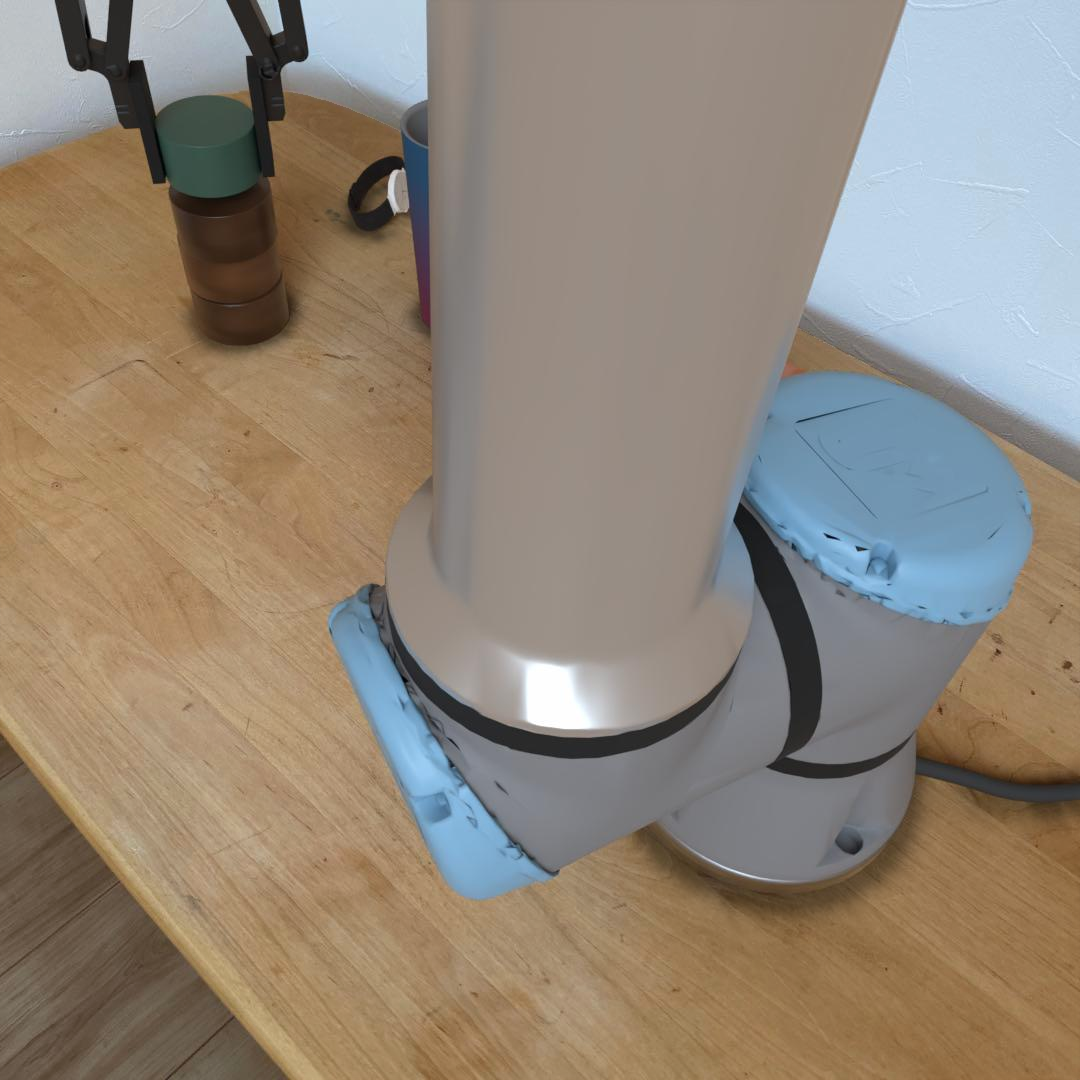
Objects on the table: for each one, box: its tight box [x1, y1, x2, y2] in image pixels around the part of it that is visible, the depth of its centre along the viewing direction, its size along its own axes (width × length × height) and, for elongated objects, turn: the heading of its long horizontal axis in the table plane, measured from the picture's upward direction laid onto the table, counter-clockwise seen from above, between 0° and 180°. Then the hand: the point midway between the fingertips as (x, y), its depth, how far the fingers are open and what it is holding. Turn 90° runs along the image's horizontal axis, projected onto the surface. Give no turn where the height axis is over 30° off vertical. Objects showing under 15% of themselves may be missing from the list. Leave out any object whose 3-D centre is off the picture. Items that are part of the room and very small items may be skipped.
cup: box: [399, 98, 431, 330], centre depth 72 cm, size 7×7×15 cm
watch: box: [347, 155, 410, 232], centre depth 85 cm, size 8×5×4 cm, turn 166°
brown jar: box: [168, 174, 290, 346], centre depth 73 cm, size 7×7×10 cm
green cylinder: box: [155, 94, 262, 198], centre depth 66 cm, size 6×6×4 cm
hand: (214, 167), depth 68 cm, fingers closed on green cylinder, 6 cm apart
